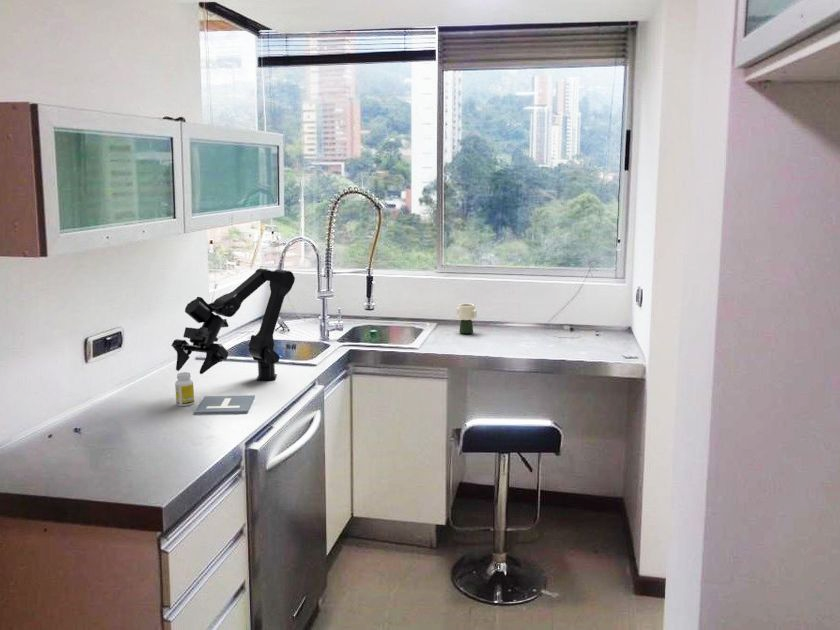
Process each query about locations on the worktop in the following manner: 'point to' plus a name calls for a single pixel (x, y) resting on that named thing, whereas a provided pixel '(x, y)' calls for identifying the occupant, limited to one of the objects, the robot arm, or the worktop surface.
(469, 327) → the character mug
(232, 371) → the worktop surface
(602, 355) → the worktop surface
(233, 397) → the letter board
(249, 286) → the robot arm
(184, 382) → the supplement bottle
